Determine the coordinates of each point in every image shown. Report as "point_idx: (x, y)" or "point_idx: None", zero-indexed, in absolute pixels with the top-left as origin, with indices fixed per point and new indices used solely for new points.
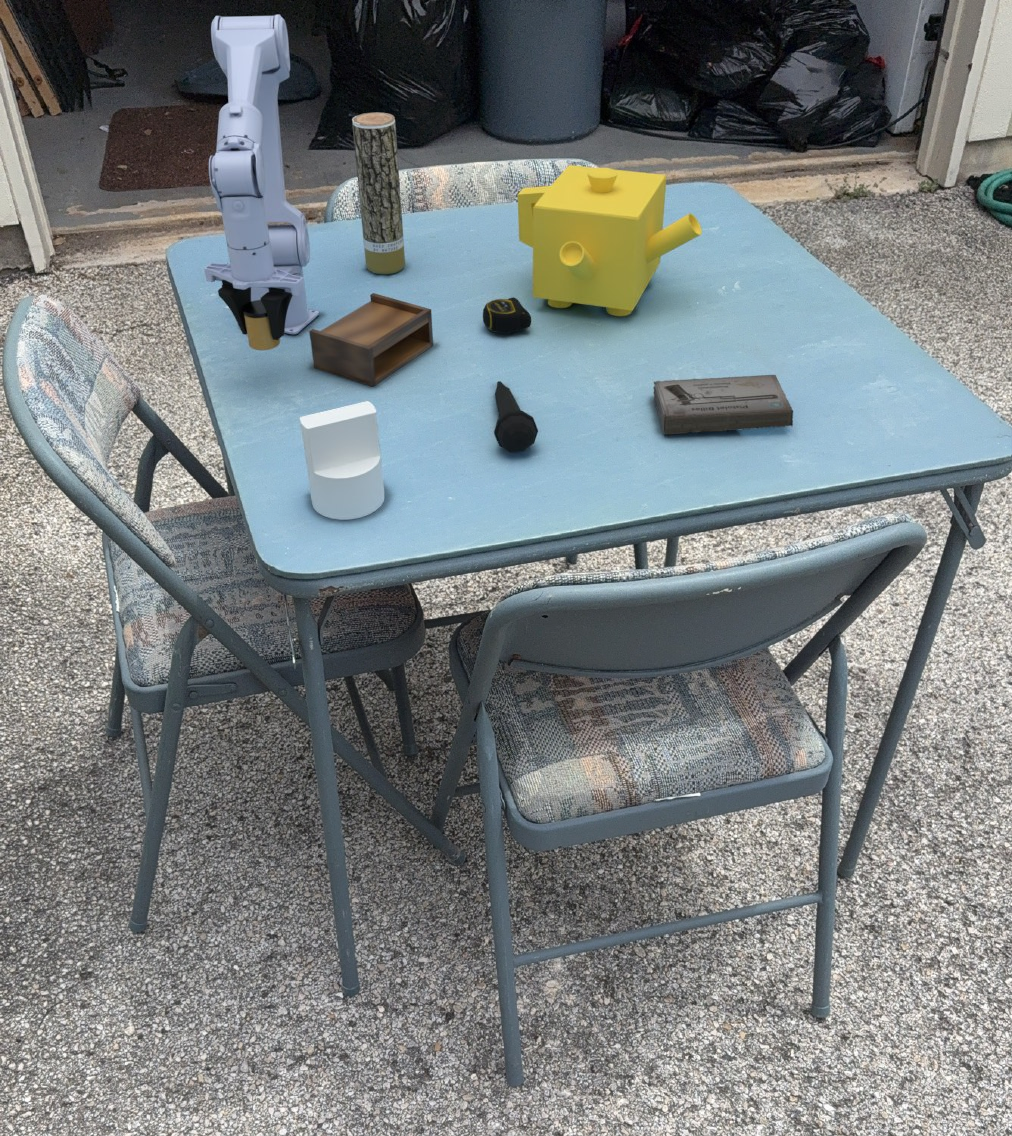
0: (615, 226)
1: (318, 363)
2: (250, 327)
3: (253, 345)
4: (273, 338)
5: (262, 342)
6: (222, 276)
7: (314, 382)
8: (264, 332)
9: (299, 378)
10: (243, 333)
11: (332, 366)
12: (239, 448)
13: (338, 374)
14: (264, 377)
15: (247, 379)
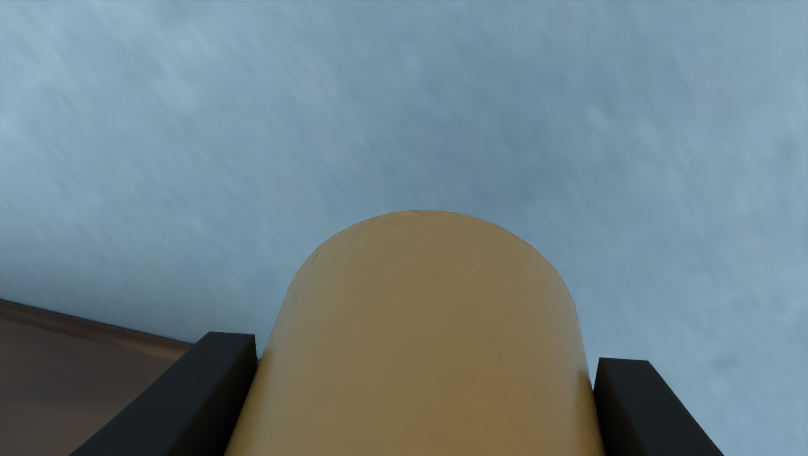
0: None
1: None
2: (465, 376)
3: (466, 235)
4: (241, 340)
5: (350, 269)
6: None
7: (162, 220)
8: (290, 357)
9: (276, 239)
10: (634, 363)
11: (98, 358)
12: None
13: (76, 322)
14: (499, 194)
15: (604, 140)
